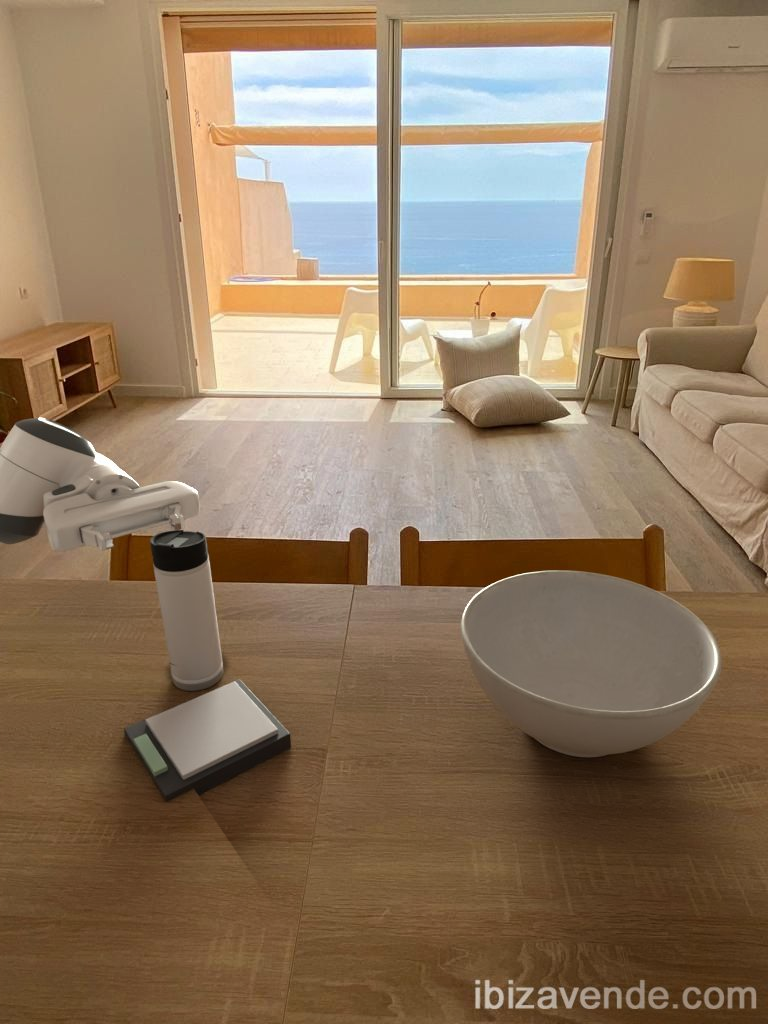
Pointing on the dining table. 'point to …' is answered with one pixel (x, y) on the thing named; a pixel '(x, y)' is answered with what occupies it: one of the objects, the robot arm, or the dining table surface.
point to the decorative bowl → (589, 659)
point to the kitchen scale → (207, 740)
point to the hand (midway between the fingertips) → (144, 534)
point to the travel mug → (187, 608)
